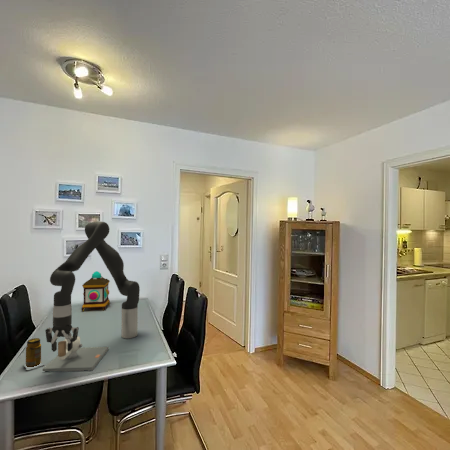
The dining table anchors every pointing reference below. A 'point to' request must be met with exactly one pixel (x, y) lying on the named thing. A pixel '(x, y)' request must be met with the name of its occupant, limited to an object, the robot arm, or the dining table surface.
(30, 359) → the condiment
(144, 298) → the dining table surface
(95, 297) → the decorative lantern
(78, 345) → the cream maraca
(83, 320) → the dining table surface
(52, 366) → the board
